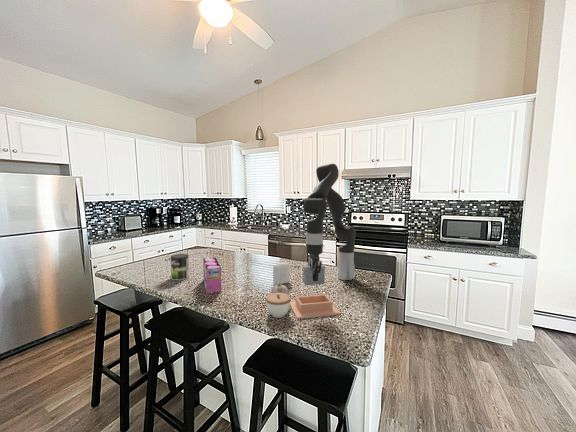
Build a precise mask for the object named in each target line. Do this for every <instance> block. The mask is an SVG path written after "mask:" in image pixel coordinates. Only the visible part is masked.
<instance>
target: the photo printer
mask: <svg viewBox="0 0 576 432" xmlns="http://www.w3.org/2000/svg"><path fill="white" fill-rule="evenodd" d="M290 269H291V267H290V263H289V262H278V263H276V264H274V265H273V268H272V270H273V271H272V273H273V275H272V278H273V279H272V282H273V285H274V286H275V285H277V284H279V283H280V284H282V285H284V284H288V283H290V278H291V277H290V275H291V274H290V272H291V270H290Z"/></svg>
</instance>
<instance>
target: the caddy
mask: <svg viewBox="0 0 576 432" xmlns="http://www.w3.org/2000/svg"><path fill="white" fill-rule="evenodd" d="M289 308H290V309H291V310H292V313H293V315H294V316H295V318H296V320H300V319H310V318H311V319H312V318H321V317H329V316H339V315H341V314H342V312H341V311H340V310H339V309H338V308H337V306H335V304H334V302H333V301H332V300H331V298H329V296H328V295H327V294H314V295H303V296H295V300H292V301H291V300H290V307H289Z"/></svg>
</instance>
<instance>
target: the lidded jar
mask: <svg viewBox="0 0 576 432" xmlns="http://www.w3.org/2000/svg"><path fill="white" fill-rule="evenodd" d="M265 301H266V305H265V306H266V309H267V311H268V313H269V314H270V315H271V316H272V318H277V319H278V318H283V317H285V316H286V315H287V313H288V312H289V311H290V308H291V307H290V302H291V296H290V294H289V295H288V294H285V293H272V294H271V293H270V294H267V296H266V297H265Z"/></svg>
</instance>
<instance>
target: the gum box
mask: <svg viewBox="0 0 576 432" xmlns="http://www.w3.org/2000/svg"><path fill="white" fill-rule="evenodd" d="M202 259H203V260H202V264H203V265H202V266H203V269H202V270H203V283H204V288H205V293H206V294H212V293H211V292H214V293H219V292H220V291H221V292H222V267H221V265H220V263H219V261H218V259H217V257H213V258H205V257H204V258H202Z"/></svg>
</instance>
